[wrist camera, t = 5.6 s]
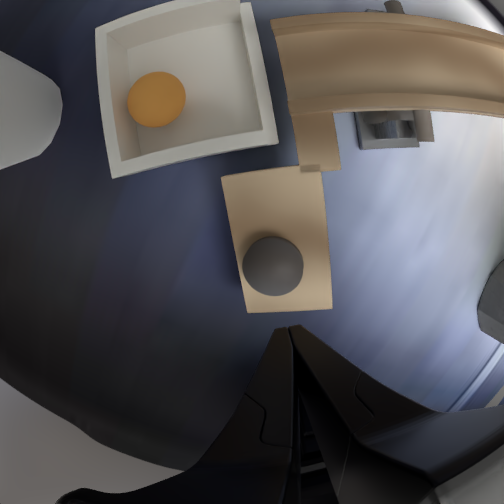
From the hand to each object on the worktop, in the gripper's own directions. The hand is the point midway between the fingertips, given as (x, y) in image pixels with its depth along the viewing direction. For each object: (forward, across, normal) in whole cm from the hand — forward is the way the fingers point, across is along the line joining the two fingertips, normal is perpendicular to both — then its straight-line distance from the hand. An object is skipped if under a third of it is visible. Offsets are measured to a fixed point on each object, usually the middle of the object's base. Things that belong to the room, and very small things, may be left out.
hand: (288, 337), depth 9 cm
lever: (+7, -11, -5) cm, 14 cm away
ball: (+8, +4, -10) cm, 13 cm away
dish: (+9, +3, -11) cm, 15 cm away
